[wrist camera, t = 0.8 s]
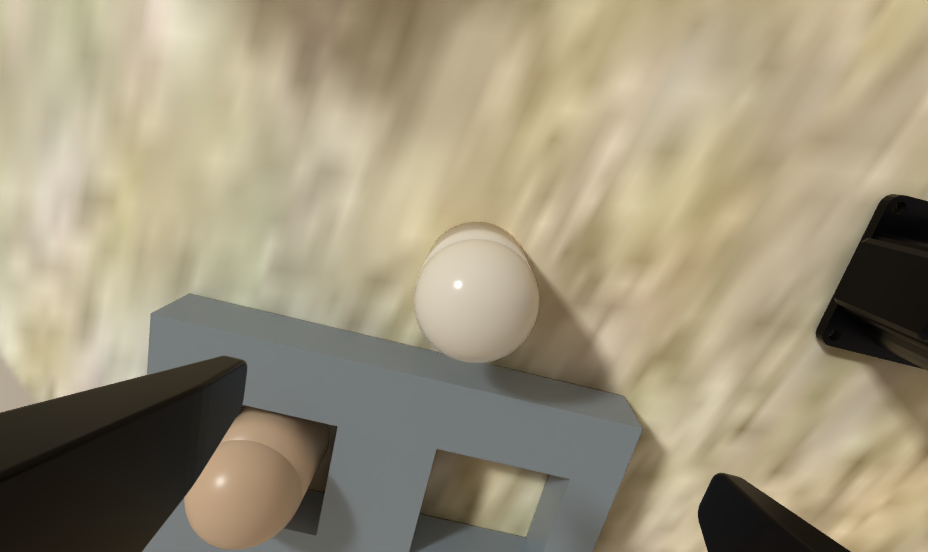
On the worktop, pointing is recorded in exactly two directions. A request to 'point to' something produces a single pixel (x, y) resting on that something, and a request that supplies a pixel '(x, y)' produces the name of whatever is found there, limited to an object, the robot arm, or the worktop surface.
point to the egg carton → (379, 440)
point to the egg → (476, 294)
